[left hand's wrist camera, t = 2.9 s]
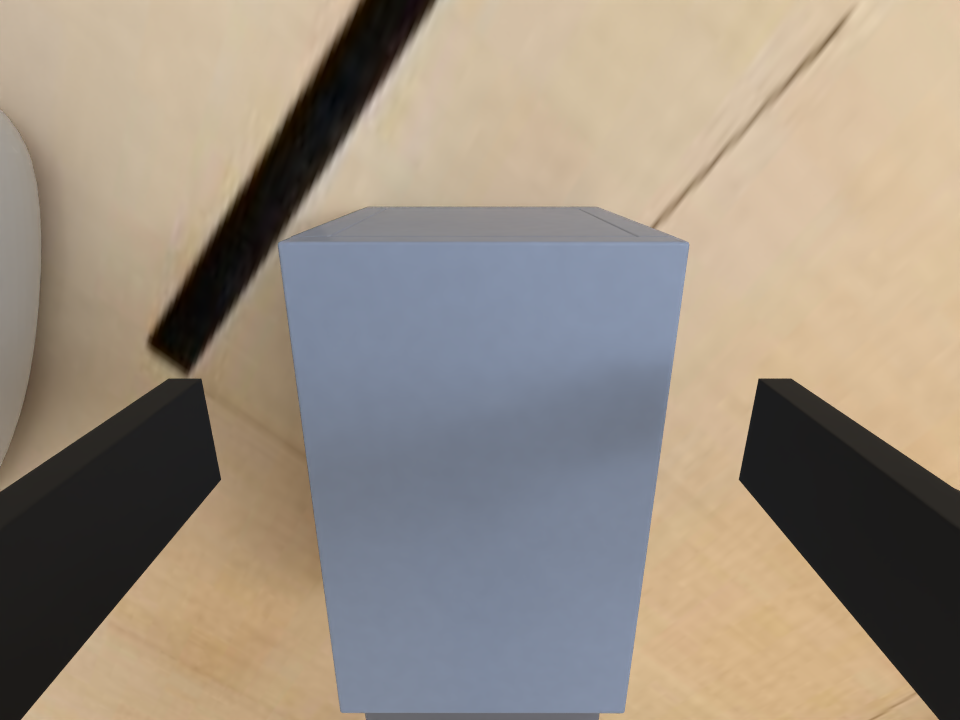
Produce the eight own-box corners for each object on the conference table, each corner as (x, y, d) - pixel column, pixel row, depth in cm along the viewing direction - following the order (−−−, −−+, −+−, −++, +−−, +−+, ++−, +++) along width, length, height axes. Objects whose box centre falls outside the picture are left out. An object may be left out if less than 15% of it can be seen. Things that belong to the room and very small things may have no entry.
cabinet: (574, 520, 30) (624, 714, 19) (389, 520, 30) (339, 713, 19) (598, 206, 24) (691, 241, 13) (366, 206, 24) (276, 241, 13)
